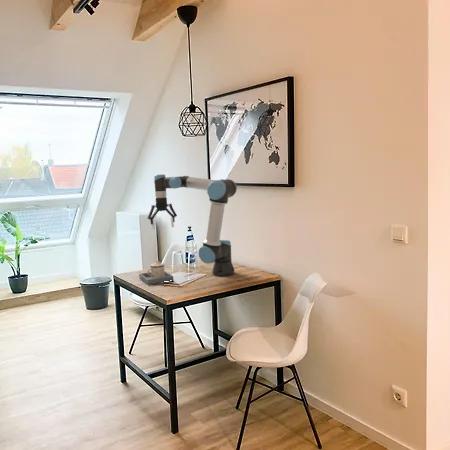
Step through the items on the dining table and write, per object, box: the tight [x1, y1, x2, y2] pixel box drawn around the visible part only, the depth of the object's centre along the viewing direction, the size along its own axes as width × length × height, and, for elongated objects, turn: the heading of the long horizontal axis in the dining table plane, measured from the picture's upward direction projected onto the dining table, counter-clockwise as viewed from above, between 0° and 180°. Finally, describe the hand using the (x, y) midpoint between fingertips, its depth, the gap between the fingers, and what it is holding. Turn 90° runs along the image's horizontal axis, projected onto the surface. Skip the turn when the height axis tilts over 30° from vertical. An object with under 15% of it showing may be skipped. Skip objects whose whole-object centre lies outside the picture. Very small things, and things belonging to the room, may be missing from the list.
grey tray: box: [138, 270, 174, 286], centre depth 311 cm, size 17×20×4 cm
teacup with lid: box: [147, 260, 165, 279], centre depth 310 cm, size 12×9×12 cm
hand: (163, 228), depth 327 cm, fingers open, 13 cm apart
